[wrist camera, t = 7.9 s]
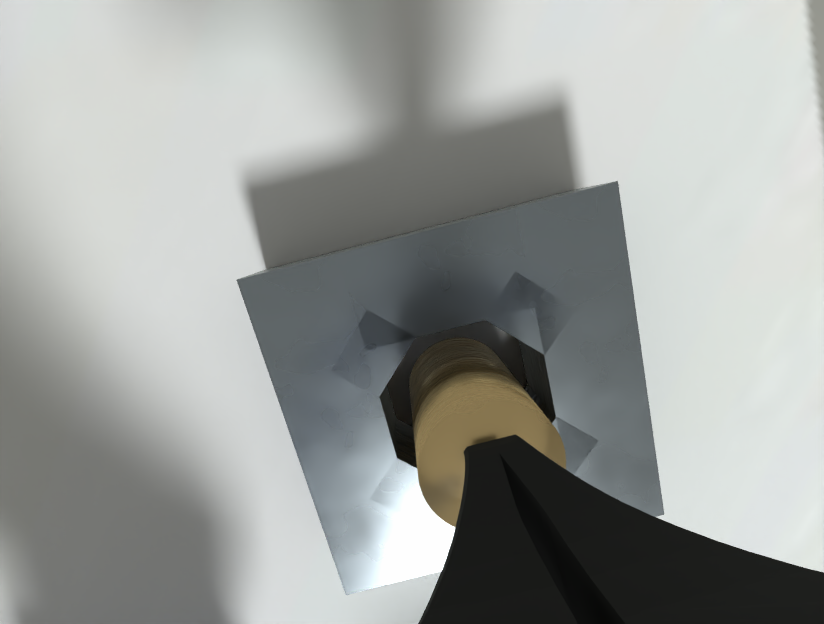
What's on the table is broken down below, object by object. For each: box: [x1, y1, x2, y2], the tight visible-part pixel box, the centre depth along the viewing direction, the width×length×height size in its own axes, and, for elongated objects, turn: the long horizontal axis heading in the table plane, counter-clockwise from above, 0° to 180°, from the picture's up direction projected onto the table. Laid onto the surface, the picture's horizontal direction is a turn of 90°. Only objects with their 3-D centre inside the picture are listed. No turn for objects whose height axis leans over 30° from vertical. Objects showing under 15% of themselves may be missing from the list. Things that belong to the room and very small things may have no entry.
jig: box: [237, 181, 664, 595], centre depth 15 cm, size 12×12×3 cm
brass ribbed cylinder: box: [409, 338, 566, 527], centre depth 14 cm, size 4×4×6 cm
